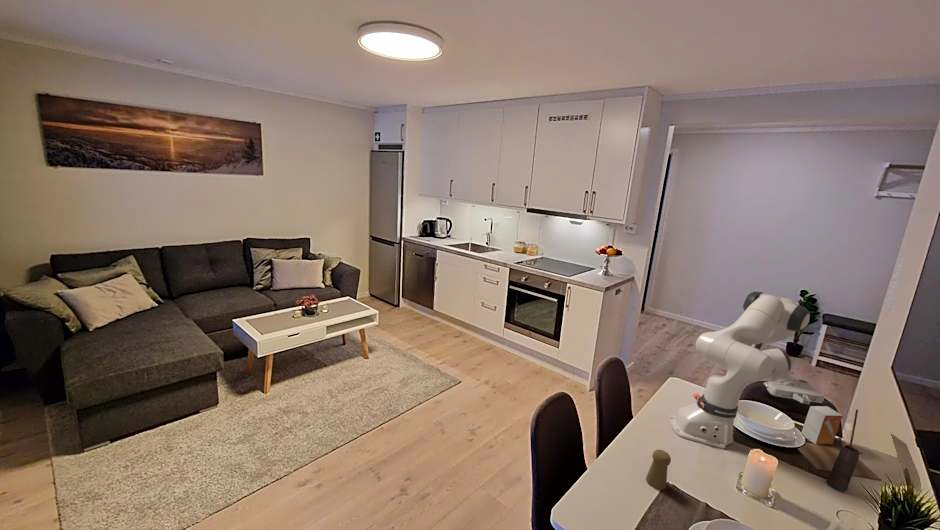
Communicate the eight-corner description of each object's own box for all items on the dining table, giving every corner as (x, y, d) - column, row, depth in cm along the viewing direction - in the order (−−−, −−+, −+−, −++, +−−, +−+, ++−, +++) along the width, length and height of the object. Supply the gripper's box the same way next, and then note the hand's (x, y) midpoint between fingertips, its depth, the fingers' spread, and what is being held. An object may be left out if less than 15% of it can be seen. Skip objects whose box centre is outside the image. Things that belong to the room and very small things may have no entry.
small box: (815, 445, 154) (825, 415, 151) (800, 434, 160) (809, 405, 157) (833, 444, 155) (843, 415, 152) (817, 433, 161) (827, 405, 158)
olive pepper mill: (667, 492, 124) (674, 462, 121) (646, 485, 126) (653, 456, 123) (665, 479, 130) (672, 450, 127) (645, 473, 131) (651, 444, 129)
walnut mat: (816, 469, 140) (817, 468, 140) (790, 441, 155) (790, 440, 155) (880, 480, 137) (881, 479, 137) (847, 450, 152) (847, 449, 152)
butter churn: (867, 498, 128) (896, 423, 122) (843, 500, 127) (871, 424, 120) (838, 477, 137) (863, 405, 130) (815, 478, 136) (839, 406, 129)
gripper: (763, 375, 180) (780, 391, 166) (813, 382, 177) (835, 399, 163) (759, 387, 181) (776, 404, 168) (809, 395, 178) (830, 413, 165)
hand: (806, 402), depth 165 cm, fingers closed
